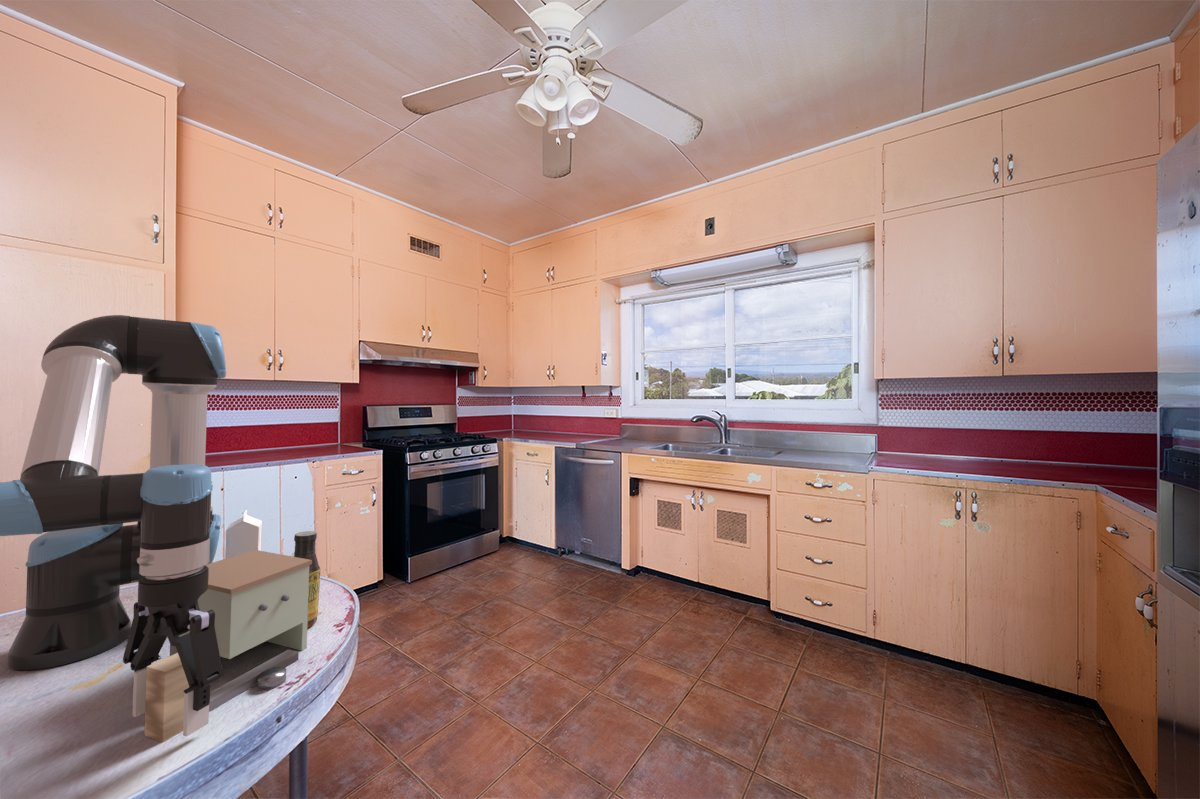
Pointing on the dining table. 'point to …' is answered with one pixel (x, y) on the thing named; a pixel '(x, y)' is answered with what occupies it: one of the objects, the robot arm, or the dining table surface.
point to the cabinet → (257, 601)
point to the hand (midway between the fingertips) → (170, 719)
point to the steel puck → (271, 678)
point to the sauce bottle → (307, 551)
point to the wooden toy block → (171, 681)
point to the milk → (243, 536)
